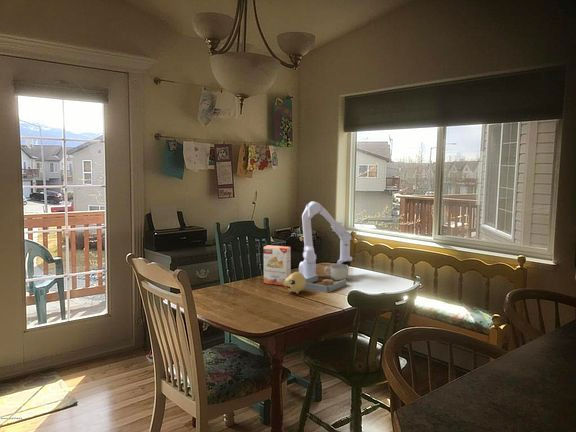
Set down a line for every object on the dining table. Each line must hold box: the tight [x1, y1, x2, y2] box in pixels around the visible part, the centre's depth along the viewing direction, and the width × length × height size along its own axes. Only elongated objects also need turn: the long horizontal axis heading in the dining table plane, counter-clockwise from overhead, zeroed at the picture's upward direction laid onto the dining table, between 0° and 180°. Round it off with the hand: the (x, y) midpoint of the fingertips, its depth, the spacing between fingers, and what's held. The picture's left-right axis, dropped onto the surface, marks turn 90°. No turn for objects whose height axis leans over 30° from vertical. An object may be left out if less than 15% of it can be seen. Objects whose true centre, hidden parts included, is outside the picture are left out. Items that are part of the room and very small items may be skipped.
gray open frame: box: [305, 274, 347, 293], centre depth 247 cm, size 19×19×3 cm
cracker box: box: [263, 244, 292, 287], centre depth 251 cm, size 14×6×21 cm, turn 68°
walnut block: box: [322, 278, 334, 286], centre depth 240 cm, size 4×4×5 cm
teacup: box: [323, 263, 350, 281], centre depth 262 cm, size 14×11×8 cm
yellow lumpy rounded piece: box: [283, 271, 306, 295], centre depth 234 cm, size 10×12×11 cm
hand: (344, 274), depth 270 cm, fingers closed
